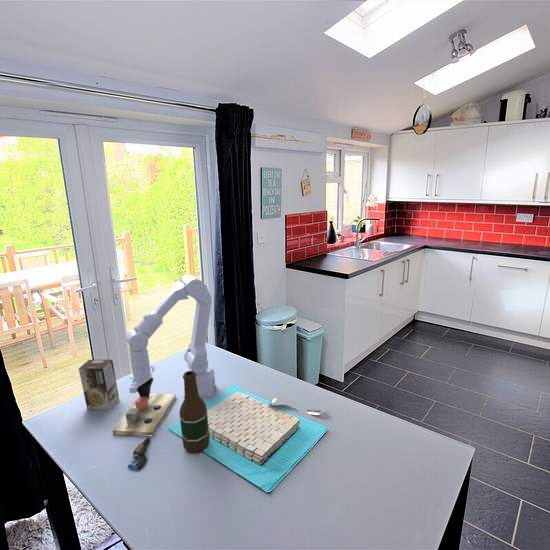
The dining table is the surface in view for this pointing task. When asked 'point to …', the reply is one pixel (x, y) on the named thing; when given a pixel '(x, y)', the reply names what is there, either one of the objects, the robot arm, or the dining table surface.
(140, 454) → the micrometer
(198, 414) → the beer bottle
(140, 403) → the block
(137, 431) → the beige slider panel
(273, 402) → the stirrer
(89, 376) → the coffee box
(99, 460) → the dining table surface
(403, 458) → the dining table surface
